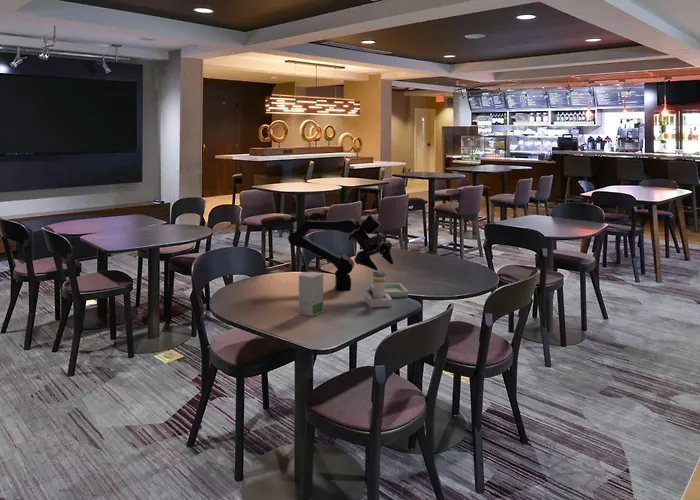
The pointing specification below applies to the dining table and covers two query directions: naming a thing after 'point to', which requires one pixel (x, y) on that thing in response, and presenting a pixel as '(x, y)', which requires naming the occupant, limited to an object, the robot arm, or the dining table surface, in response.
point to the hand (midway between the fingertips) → (385, 266)
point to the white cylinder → (378, 285)
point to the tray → (393, 290)
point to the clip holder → (378, 301)
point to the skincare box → (310, 294)
